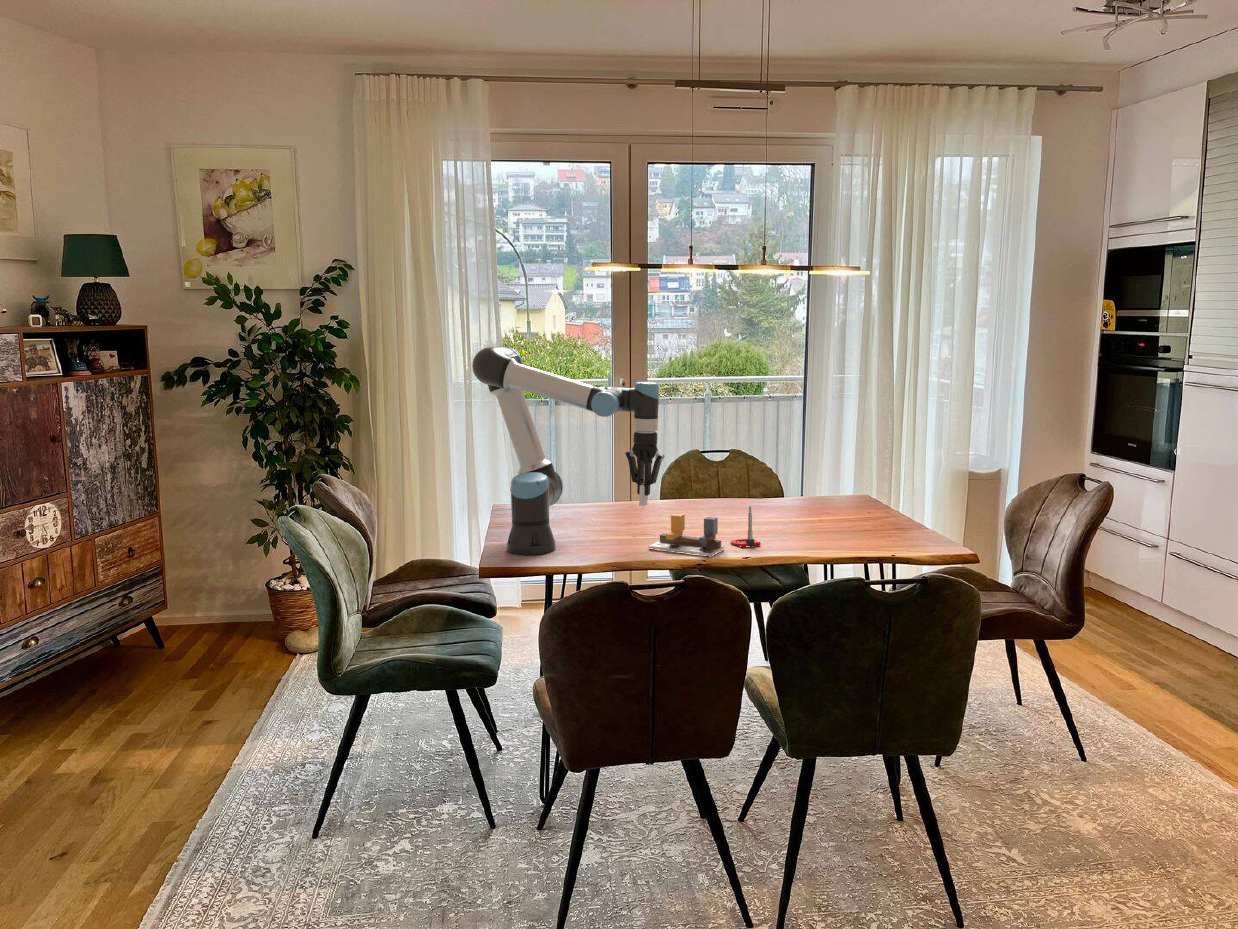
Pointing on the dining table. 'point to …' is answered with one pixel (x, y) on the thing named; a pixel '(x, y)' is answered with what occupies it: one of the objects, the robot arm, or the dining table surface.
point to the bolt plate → (687, 545)
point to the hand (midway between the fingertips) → (643, 504)
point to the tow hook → (749, 541)
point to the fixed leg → (709, 531)
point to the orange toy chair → (676, 527)
